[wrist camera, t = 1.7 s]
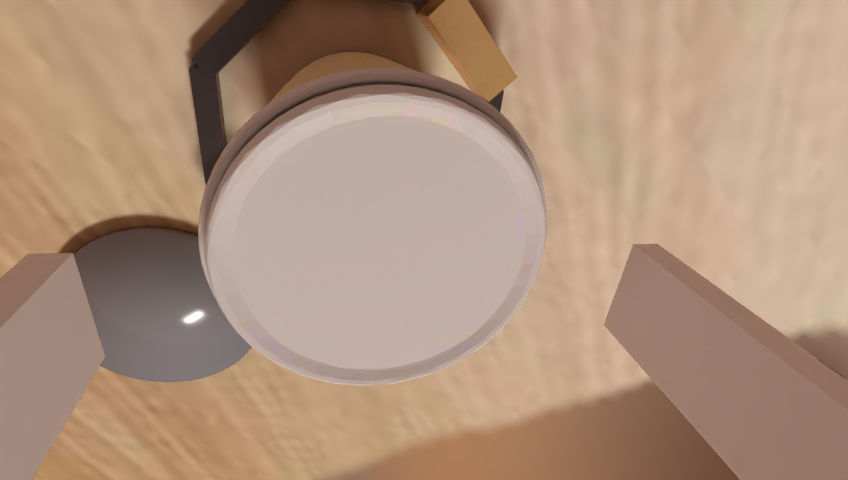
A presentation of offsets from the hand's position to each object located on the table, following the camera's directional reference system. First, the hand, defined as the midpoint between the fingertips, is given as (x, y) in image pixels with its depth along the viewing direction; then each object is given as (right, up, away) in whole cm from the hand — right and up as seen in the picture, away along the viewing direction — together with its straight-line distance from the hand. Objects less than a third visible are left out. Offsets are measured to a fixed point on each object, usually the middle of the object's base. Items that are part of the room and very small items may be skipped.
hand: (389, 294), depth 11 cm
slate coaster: (-13, -2, +13) cm, 19 cm away
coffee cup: (-3, +7, +11) cm, 13 cm away
